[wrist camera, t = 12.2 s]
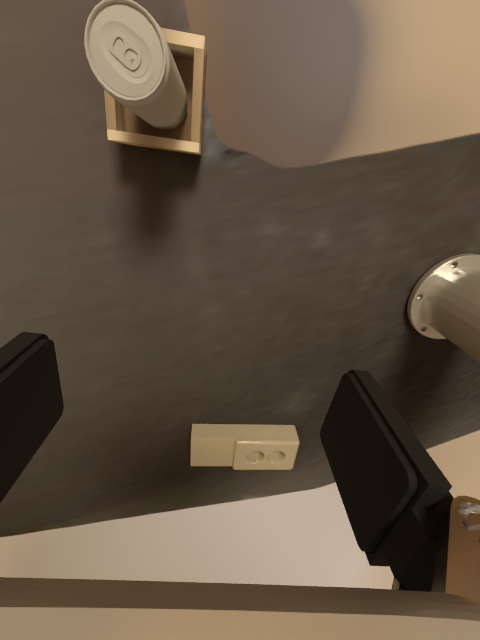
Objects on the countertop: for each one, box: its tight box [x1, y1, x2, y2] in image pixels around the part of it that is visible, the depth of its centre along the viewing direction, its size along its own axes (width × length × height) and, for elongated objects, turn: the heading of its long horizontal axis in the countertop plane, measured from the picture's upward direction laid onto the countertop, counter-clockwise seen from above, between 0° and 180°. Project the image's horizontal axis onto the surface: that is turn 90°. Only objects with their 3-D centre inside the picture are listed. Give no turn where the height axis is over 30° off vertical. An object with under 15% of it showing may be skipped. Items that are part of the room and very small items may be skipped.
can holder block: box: [104, 28, 207, 155], centre depth 26 cm, size 8×8×4 cm
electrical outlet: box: [191, 424, 299, 470], centre depth 49 cm, size 7×4×18 cm
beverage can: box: [84, 0, 188, 130], centre depth 22 cm, size 5×5×12 cm
